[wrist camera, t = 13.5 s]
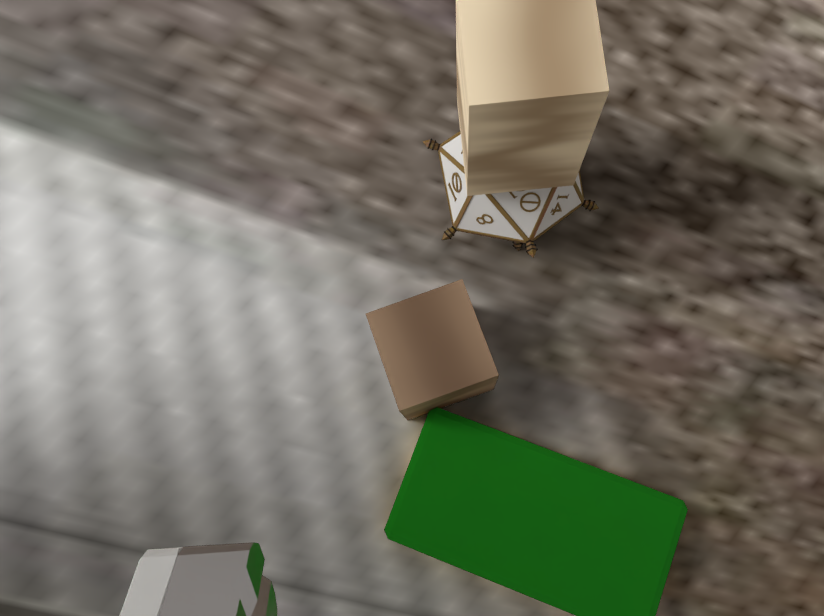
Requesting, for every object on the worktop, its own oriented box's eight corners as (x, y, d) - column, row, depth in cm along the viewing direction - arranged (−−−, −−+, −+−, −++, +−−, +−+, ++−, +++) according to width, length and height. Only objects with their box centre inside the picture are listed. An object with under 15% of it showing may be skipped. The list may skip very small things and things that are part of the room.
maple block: (467, 196, 36) (468, 105, 28) (457, 99, 38) (455, -17, 29) (573, 185, 36) (609, 90, 27) (560, 88, 37) (590, -32, 29)
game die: (535, 219, 48) (664, 203, 40) (438, 290, 44) (556, 288, 36) (475, 85, 46) (598, 37, 37) (366, 148, 42) (475, 111, 33)
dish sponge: (635, 635, 40) (647, 644, 37) (386, 533, 41) (381, 536, 39) (677, 501, 41) (690, 503, 39) (432, 408, 43) (431, 404, 40)
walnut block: (407, 420, 42) (399, 411, 36) (378, 336, 43) (365, 313, 38) (493, 389, 42) (498, 375, 37) (462, 306, 43) (462, 279, 38)
